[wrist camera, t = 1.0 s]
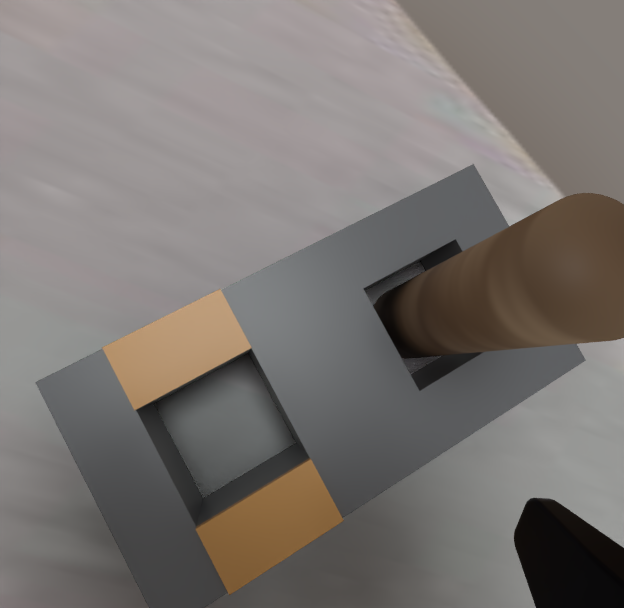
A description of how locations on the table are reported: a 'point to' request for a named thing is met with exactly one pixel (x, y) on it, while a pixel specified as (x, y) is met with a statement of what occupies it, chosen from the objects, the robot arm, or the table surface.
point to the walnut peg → (519, 286)
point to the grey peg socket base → (288, 400)
